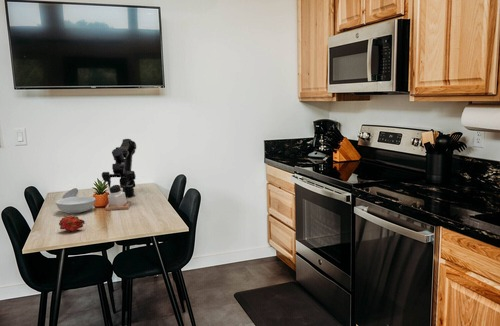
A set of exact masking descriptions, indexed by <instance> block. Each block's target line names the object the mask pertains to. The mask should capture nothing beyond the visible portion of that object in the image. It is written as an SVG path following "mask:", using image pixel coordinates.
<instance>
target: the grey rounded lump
mask: <svg viewBox="0 0 500 326" xmlns="http://www.w3.org/2000/svg"><path fill="white" fill-rule="evenodd" d="M78 193H79V190H78V188H77V187H75V188H72V189H70V190H68V191H67V192H65V194H63V196H62V198H61V199H64V198H68V197H76V196H78Z"/></svg>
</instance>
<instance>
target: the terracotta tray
mask: <svg viewBox="0 0 500 326" xmlns="http://www.w3.org/2000/svg"><path fill="white" fill-rule="evenodd" d="M126 201H127V200H126ZM131 205H132V201H131V200H128V201H127V203H126V204H125V205H123V206H113V207H110V205H109V203H107V205H106V206H105V211H106V212H110V211H111V210H112V211H125V210H128V211H129V208H130V207H131Z"/></svg>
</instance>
